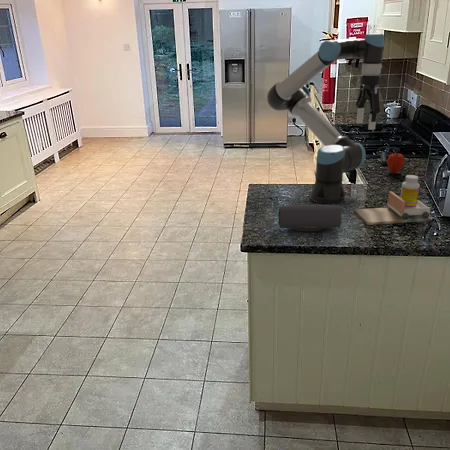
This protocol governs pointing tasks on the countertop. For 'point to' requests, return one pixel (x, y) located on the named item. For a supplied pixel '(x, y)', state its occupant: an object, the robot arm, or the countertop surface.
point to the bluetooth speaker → (309, 217)
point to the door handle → (385, 158)
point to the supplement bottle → (410, 191)
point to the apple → (395, 162)
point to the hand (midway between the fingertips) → (365, 126)
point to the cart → (399, 207)
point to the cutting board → (386, 216)
